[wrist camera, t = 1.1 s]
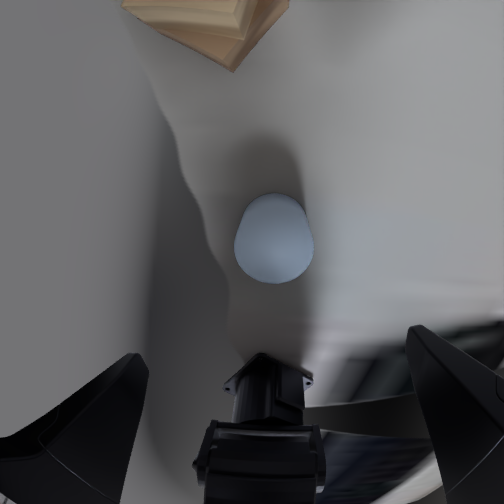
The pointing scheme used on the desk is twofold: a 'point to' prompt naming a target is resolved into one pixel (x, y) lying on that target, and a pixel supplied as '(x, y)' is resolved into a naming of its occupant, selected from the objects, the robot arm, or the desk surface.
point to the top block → (196, 15)
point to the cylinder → (274, 239)
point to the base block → (225, 48)
